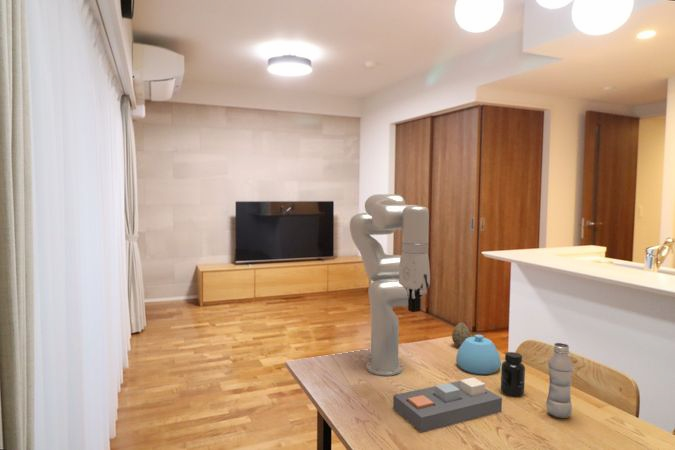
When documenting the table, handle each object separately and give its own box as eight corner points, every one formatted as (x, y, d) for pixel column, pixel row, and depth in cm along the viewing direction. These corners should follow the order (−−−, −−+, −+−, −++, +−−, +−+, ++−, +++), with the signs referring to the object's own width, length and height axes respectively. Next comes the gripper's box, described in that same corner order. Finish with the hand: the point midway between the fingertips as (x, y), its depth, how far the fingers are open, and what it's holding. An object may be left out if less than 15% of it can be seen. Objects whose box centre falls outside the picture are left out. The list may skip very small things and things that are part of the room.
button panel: (393, 408, 130) (393, 395, 130) (468, 391, 141) (468, 378, 141) (421, 432, 117) (421, 417, 117) (501, 411, 128) (501, 397, 128)
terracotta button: (407, 413, 127) (408, 398, 126) (422, 410, 129) (423, 394, 128) (418, 421, 122) (418, 406, 122) (433, 418, 124) (433, 402, 124)
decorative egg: (460, 342, 186) (461, 318, 185) (474, 347, 180) (474, 323, 179) (448, 345, 182) (448, 321, 181) (461, 351, 176) (462, 326, 175)
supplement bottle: (526, 398, 136) (527, 359, 135) (502, 396, 138) (503, 357, 137) (521, 388, 143) (523, 351, 142) (499, 386, 144) (500, 349, 143)
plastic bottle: (569, 411, 128) (572, 342, 127) (573, 423, 122) (576, 350, 120) (544, 407, 130) (547, 339, 129) (547, 419, 124) (549, 347, 122)
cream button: (459, 394, 134) (460, 380, 133) (473, 391, 136) (473, 377, 135) (471, 402, 129) (471, 387, 129) (485, 398, 131) (485, 384, 131)
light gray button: (434, 400, 130) (434, 385, 130) (448, 397, 132) (449, 382, 132) (445, 408, 126) (445, 392, 125) (460, 404, 128) (460, 389, 127)
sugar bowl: (476, 356, 170) (477, 326, 170) (509, 370, 158) (510, 337, 157) (447, 364, 163) (447, 333, 162) (479, 379, 150) (480, 345, 149)
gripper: (390, 246, 137) (390, 306, 138) (418, 253, 123) (417, 319, 125) (411, 245, 140) (411, 303, 141) (441, 251, 126) (440, 316, 128)
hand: (414, 310), depth 133 cm, fingers closed
